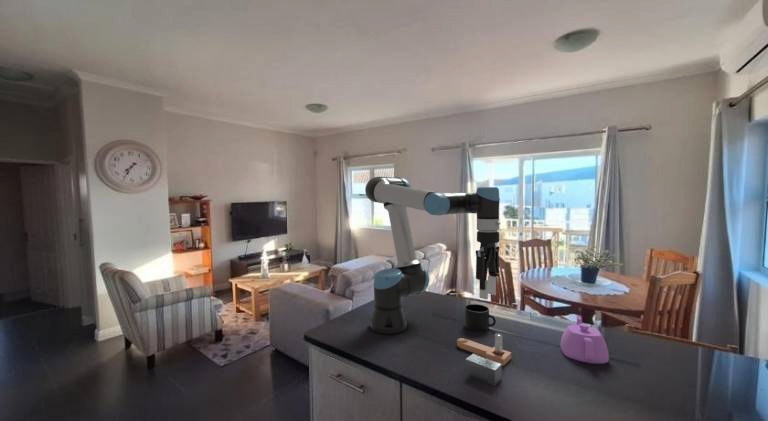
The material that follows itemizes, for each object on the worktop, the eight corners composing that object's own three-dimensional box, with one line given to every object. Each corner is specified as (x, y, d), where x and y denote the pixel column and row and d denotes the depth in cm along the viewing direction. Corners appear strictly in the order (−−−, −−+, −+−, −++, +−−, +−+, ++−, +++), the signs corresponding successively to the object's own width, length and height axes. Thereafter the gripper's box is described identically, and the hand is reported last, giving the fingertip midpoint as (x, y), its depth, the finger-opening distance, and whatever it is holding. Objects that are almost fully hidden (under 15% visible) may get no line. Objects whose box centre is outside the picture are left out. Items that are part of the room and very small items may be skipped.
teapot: (599, 346, 112) (599, 316, 112) (616, 376, 94) (616, 340, 93) (556, 340, 117) (557, 311, 117) (564, 368, 99) (565, 333, 98)
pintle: (493, 359, 102) (493, 335, 102) (496, 356, 104) (496, 333, 103) (500, 362, 100) (500, 337, 100) (503, 359, 102) (503, 335, 102)
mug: (493, 338, 120) (493, 314, 119) (462, 332, 125) (462, 309, 125) (497, 328, 128) (497, 307, 128) (467, 323, 134) (467, 302, 133)
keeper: (465, 374, 94) (465, 359, 94) (472, 368, 97) (472, 353, 97) (494, 386, 88) (494, 370, 87) (501, 379, 91) (501, 364, 91)
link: (511, 358, 102) (511, 352, 102) (503, 365, 98) (503, 359, 98) (462, 341, 114) (462, 336, 114) (453, 347, 110) (453, 341, 110)
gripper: (485, 234, 101) (485, 305, 102) (509, 229, 114) (509, 292, 115) (464, 232, 106) (464, 300, 107) (489, 228, 119) (489, 288, 120)
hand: (487, 296), depth 111 cm, fingers open, 6 cm apart
